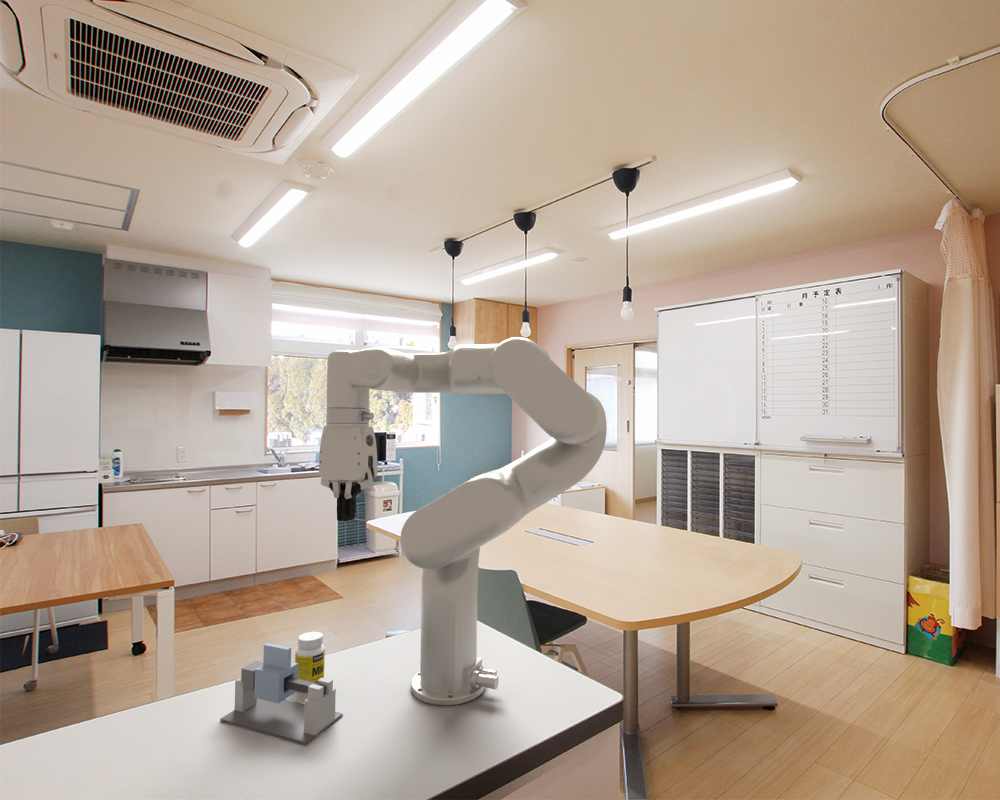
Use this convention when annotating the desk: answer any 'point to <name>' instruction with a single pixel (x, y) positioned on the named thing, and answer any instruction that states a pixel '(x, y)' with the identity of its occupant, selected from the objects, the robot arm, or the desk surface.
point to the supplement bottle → (310, 657)
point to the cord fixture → (284, 708)
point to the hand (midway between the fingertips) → (346, 519)
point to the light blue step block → (275, 673)
